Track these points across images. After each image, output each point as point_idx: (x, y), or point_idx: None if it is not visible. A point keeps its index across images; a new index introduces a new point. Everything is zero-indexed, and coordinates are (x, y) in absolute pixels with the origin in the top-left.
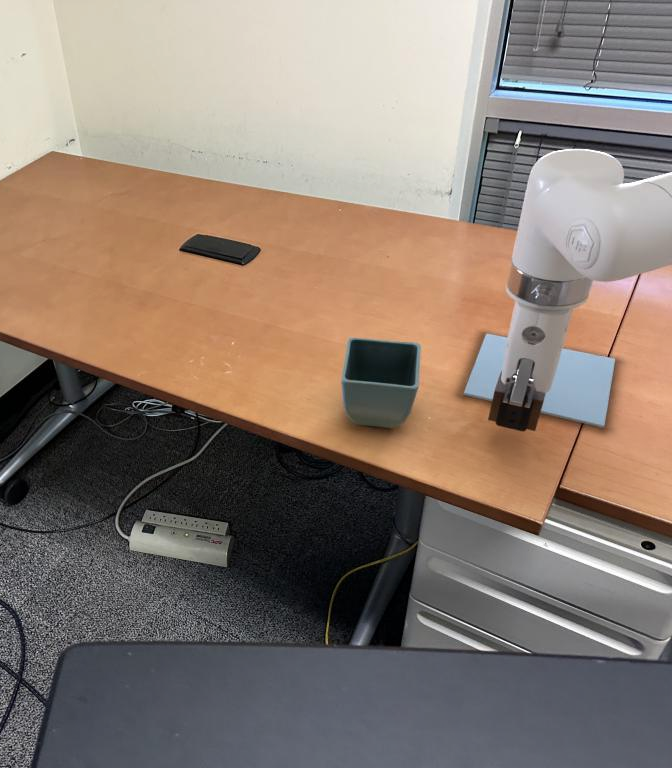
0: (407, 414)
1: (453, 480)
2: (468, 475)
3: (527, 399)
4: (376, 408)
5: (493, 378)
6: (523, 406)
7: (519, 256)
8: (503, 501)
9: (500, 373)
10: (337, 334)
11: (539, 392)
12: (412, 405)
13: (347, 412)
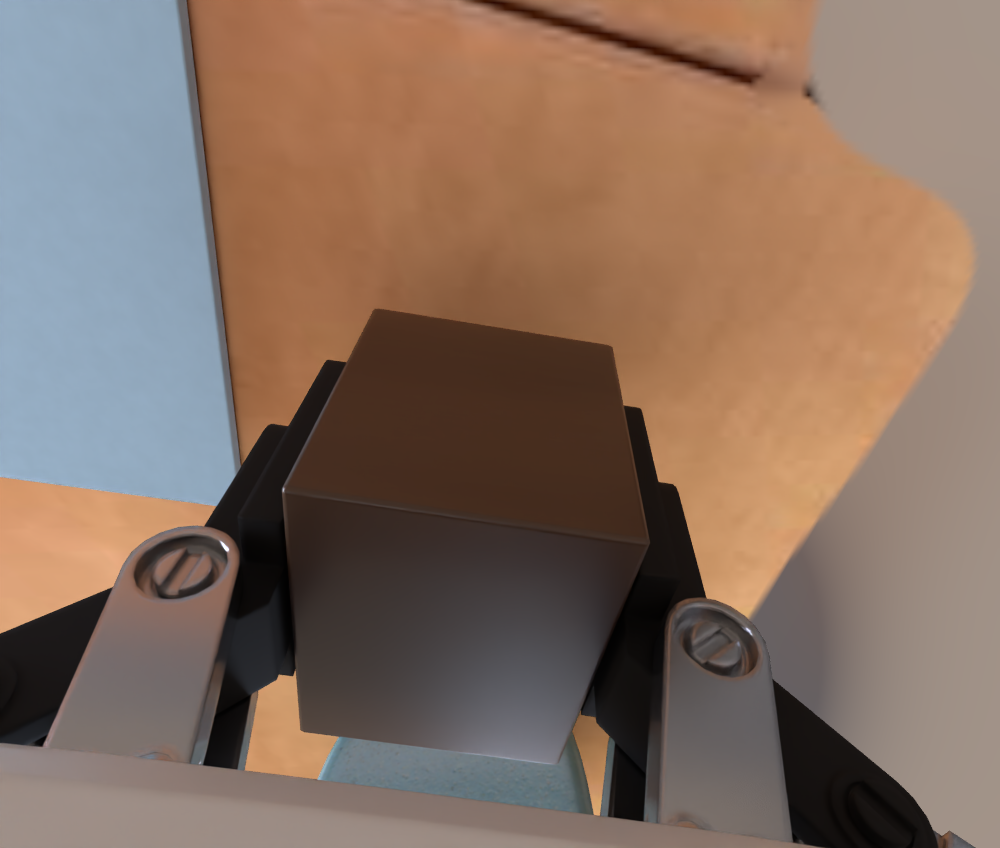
0: (582, 763)
1: (772, 513)
2: (741, 471)
3: (863, 806)
4: None
5: (67, 409)
6: (775, 686)
7: None
8: (900, 351)
9: (338, 736)
10: None
11: (513, 563)
12: (583, 811)
13: None
